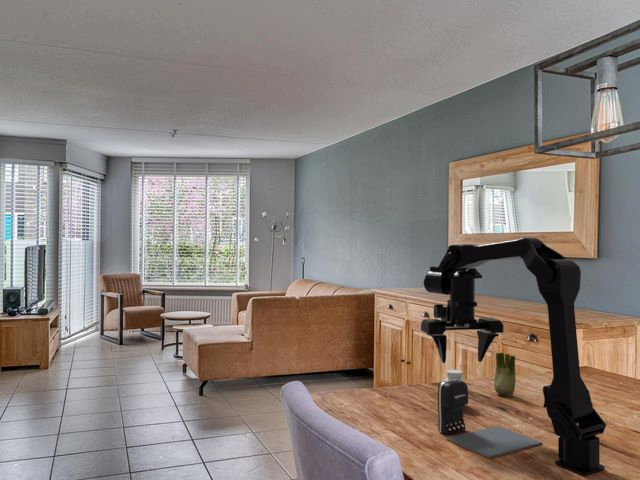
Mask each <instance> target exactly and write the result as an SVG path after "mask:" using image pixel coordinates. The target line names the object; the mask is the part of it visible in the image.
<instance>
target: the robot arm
mask: <svg viewBox="0 0 640 480" xmlns="http://www.w3.org/2000/svg"><path fill="white" fill-rule="evenodd" d="M515 258H516V259H518V258H521V259H522V261H523V262H524V265H525V268H526V269H527V270H528V271H529V272H530V273H531V274H532V275H534V277H535V281H536V284H537V288H538V292H539V294H540V295H541V296H542V298H543V301H544V302H545V303H546V306H547V317H548V327H549V339H550V351H551V363H552V364H551V365H552V375H553V377H552V380H551V383H550V384H548V385H544V386H543V387H542V394H543V399H544V403H543V406H542V407H543V408H544V409H546V414H547V416H548V418H549V419H550V421H551V424H552V427H553V430H554V434H555V435H556V436H558V437H557V438H558V441H557V443H558V444H557V448H558V451H557V452H558V453H557V456H558V459H557V460H554V464H555V465H557V466H560V467H562V468H564V469H567V470H569V471H572V472H574V473H577V474H579V475H581V476H588V475H591V474H594V473H597V472H600V471H602V470H605V465H603V464H602V463H600V460H601V459H600V456H601V455H600V451H601V449H600V445H601V444H600V437H599V436H598V435H602V434H604V433H605V430H606V427H607V424H606V422H605V421H604V420H603V419H602V417H601V416H600V414H599V413H598V412H597V411H596V409H595V407H594V405H593V402H592V397H591V394H590V389H588V387H587V386H586V384H585V382H584V380H583V379H582V376H581V369H580V355H579V345H578V336H577V335H578V334H577V323H576V322H577V321H576V313H575V303H576V300H577V297H578V294H579V292H580V289H581V279H582V278H581V276H582V274H581V273H582V271H581V268H580V266H579V265H578V264H577V263H576V262H574V260H572V259H568V258H566V257H565V256H564V255H562V254H561V253H560V252H558V251H556V250H554V249H553V248H551V247H549V246H547V245H546V244H545V243H544V242H543V241H542V240H541V239H539V238H537V237H521V238H519V239H513V240H507V241H500V242H493V243H488V244H487V243H486V244H473V243H469V244H468V243H452V244H450V245H449V246H447V250H446V253H445V254H444V256H443V258H442V260H441V261H440V263H439V265H438V266H432V265H431V266H430V267H429V271H428V272H427V274H425V277H424V279H423V286H424V288H425V290H426V292H428V293H429V294H439V295H443V296H444V295H446V296H448V295H449V299H447V304H446V306H444V304H437V303H436V304H434V305H433V317H434V318H425V319H422V321H421V322H420V331H421V332H423V333H426V335H428V336H429V337H431V338H432V340H433V341H434V343H435V346H436V349H437V352H438V355H439V357H440V361H441V362H442V364H445V363H446V360H447V338H448V337H447V335H446V334H444V333H445V332H446V331H461V330H462V331H469V330H471V331H472V330H474V331H476V334H477V339H478V343H477V361H478V362H479V363H481V362H483V360H484V357H486V354H487V351H488V349H489V348H490V346H491V344H492V342H493V341H494V339H495V338H496V337H499V334H503V333H504V330H505V328H504V327H505V326H504V323H503V321H502V320H500V319H496V318H493V317H481V318H478V319H477V318H475V316H476V315H475V310H476V309H475V307H478V301H476V299H475V297H476V296H475V294H476V293H475V291H476V282H475V281H476V280H477V279H478V280H479V279H483V274H481V273H480V272H479V271H478V270H477V268H476V267H480V266H481V265H483V264H486V263H487V262H491V261H501V260H507V259H515Z"/></svg>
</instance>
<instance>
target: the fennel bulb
mask: <svg viewBox="0 0 640 480" xmlns="http://www.w3.org/2000/svg"><path fill="white" fill-rule="evenodd" d="M495 361H496V363H495V365H496V367H495V374H494V379H493V380H494V381H493V382H494V385H493V386H494V391H495V392H496V394H498V395H500V396H504V397H505V396H506V397H511V396H513V395H514V392H515V388H516V378H517V377H516V355H513V354H511V355H510V354H509V353H504V352H496V353H495Z"/></svg>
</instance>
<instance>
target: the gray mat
mask: <svg viewBox="0 0 640 480" xmlns="http://www.w3.org/2000/svg"><path fill="white" fill-rule="evenodd" d="M446 441H449V442H450V443H452V444H453V443H454V444H455V445H458V446H460V447H461V448H464V449H467V450H469V451H471V452H473V453H474V454H475V453H476V454H478V455H480V456H483V457H485V458H487V459H492V458H496V457H499V456H502V455H506V454H510V453H514V452H517V451H521V450H522V451H523V450H526V449H529V448H532V447H535V446H540V445H543V441H540V440H538V439H535V438H532V437H529V436H526V435H524V434H521V433H519V432H516V431H513V430H511V429H507V428H505V427H503V426H499V425H496V426H491V427H486V428H484V429H479V430H475V431H471V432H466V433H463V434H457V435H453V436H448V437H446Z"/></svg>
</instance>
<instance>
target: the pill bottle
mask: <svg viewBox="0 0 640 480" xmlns="http://www.w3.org/2000/svg"><path fill="white" fill-rule="evenodd" d="M446 377H447V378H446V379H444V381H448V380H459V381H462V382H465V381H464V379H462V378H463V371H462V370H458V369H449V370H446Z"/></svg>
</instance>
